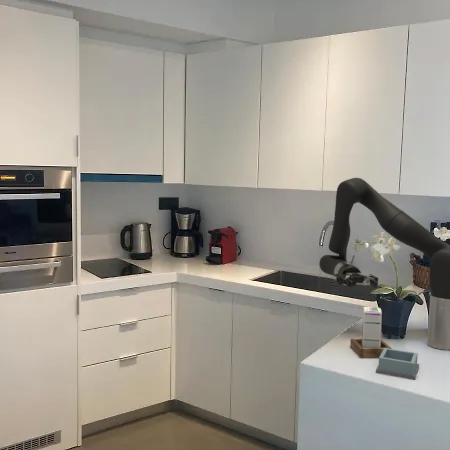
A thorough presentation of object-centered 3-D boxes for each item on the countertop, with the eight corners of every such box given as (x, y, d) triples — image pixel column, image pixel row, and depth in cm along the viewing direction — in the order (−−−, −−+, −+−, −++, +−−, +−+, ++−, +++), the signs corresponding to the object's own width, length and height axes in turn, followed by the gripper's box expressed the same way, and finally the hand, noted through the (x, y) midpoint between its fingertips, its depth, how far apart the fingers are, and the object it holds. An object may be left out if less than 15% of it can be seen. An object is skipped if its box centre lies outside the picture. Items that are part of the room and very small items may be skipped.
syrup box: (380, 356, 176) (383, 312, 174) (361, 354, 177) (363, 310, 175) (379, 350, 181) (381, 307, 179) (360, 348, 182) (363, 306, 181)
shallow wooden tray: (379, 347, 184) (380, 338, 184) (391, 357, 174) (392, 348, 174) (350, 347, 183) (350, 338, 183) (360, 358, 173) (360, 349, 173)
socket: (381, 360, 172) (382, 346, 171) (419, 367, 167) (420, 352, 166) (375, 372, 162) (376, 358, 161) (415, 379, 157) (416, 364, 157)
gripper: (329, 263, 200) (344, 273, 184) (366, 263, 202) (384, 274, 186) (327, 283, 201) (342, 295, 185) (365, 283, 203) (383, 295, 187)
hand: (363, 284), depth 186 cm, fingers open, 8 cm apart
